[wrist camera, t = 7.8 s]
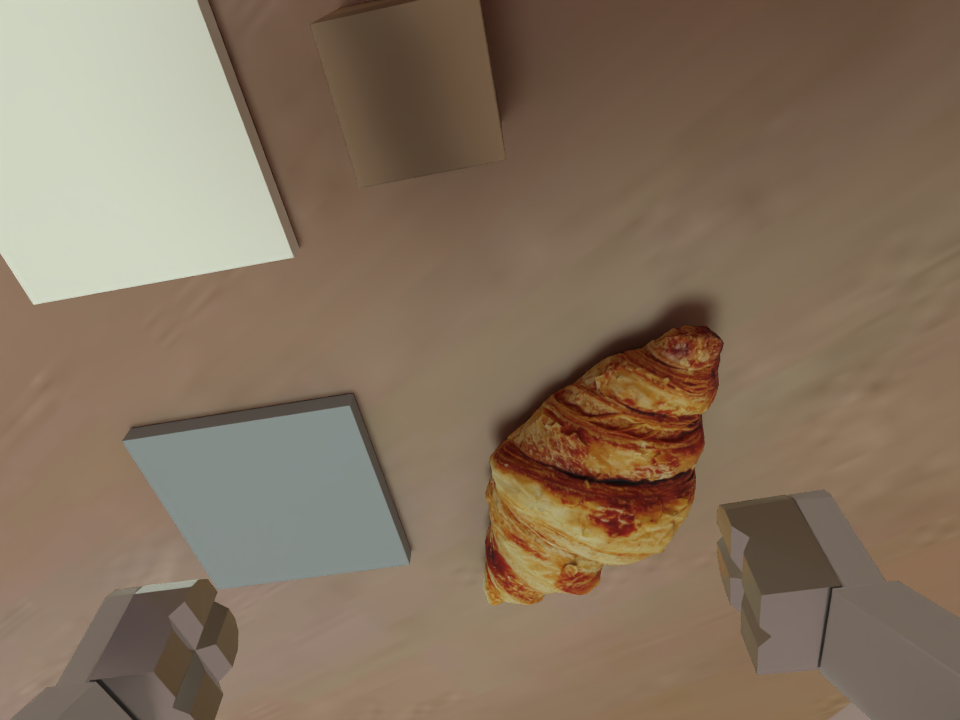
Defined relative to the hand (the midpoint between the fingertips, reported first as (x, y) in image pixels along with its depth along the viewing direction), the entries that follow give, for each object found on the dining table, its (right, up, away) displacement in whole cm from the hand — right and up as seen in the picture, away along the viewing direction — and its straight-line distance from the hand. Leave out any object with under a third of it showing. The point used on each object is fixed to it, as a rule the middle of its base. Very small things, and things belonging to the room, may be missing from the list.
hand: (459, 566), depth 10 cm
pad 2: (-11, -4, +26) cm, 29 cm away
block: (-2, +14, +14) cm, 20 cm away
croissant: (+6, -2, +25) cm, 26 cm away
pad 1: (-15, +12, +15) cm, 24 cm away
